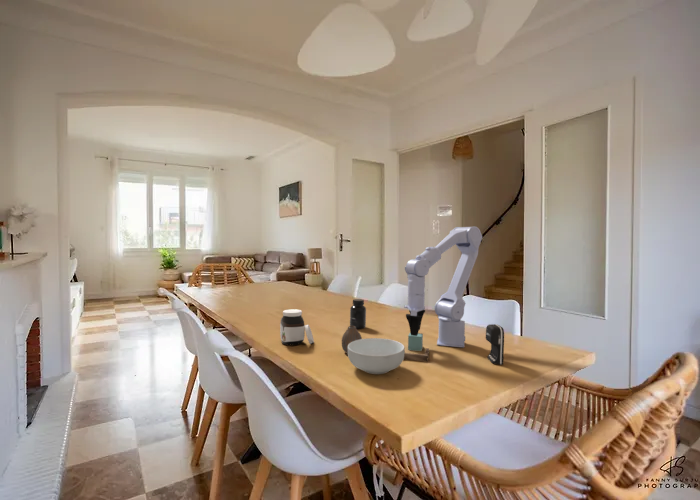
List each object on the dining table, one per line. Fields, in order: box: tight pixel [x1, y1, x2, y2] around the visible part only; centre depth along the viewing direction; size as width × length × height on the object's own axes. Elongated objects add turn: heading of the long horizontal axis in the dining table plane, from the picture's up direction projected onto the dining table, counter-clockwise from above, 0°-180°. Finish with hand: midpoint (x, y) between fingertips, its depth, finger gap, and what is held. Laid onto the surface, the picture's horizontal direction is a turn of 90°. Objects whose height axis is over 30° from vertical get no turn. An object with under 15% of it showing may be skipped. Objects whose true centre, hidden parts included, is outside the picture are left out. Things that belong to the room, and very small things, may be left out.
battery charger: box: [485, 323, 505, 365], centre depth 113 cm, size 7×4×11 cm, turn 177°
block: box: [407, 332, 424, 352], centre depth 126 cm, size 4×4×5 cm
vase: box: [341, 325, 363, 355], centre depth 121 cm, size 7×7×9 cm
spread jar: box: [279, 308, 315, 346], centre depth 132 cm, size 12×11×12 cm
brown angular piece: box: [403, 347, 430, 362], centre depth 119 cm, size 17×8×2 cm, turn 74°
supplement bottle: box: [349, 298, 367, 330], centre depth 155 cm, size 7×7×12 cm
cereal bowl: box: [347, 337, 406, 375], centre depth 105 cm, size 17×17×7 cm
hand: (415, 332), depth 126 cm, fingers open, 7 cm apart
